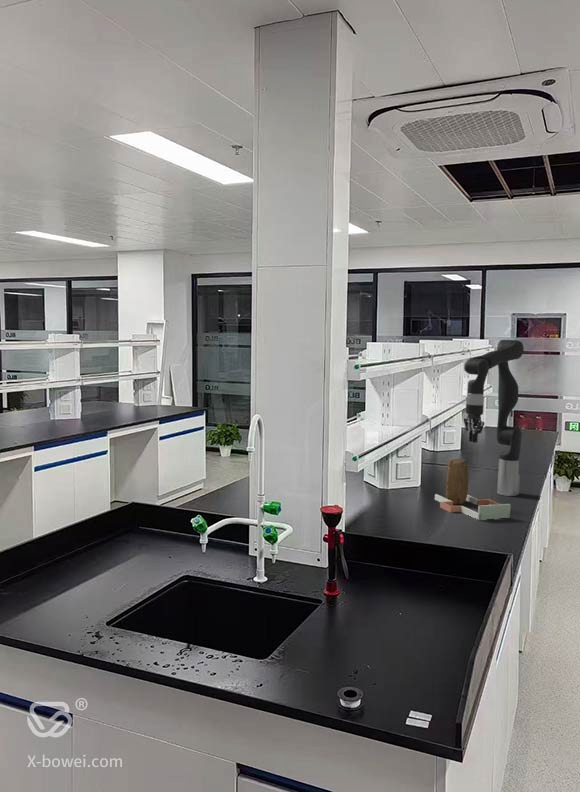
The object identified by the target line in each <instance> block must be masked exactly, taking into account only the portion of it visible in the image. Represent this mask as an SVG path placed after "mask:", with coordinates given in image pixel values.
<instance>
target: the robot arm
mask: <svg viewBox="0 0 580 792" xmlns="http://www.w3.org/2000/svg"><path fill="white" fill-rule="evenodd" d="M524 349H525V348H524V344H523V342H522V341H520V340H518V339H501V340H499V342H498V343H497V348H496V350H492V351H489V352H487V353H484V354H482V355H478V356H474V357H470V358H468V359H467V360H466V361H465V362H464V364H463V365H464V371H465V373H467V374H468V375H475V376H476V378H475V379H471V380H468V382H467V392H466V399H465V400H466V401H465V414H466V415H467V417H466V418H463V423H464V426H465V432H467V433H468V442H470V443H471V442H472V443H475V444H476V443H477V442H478V440H479V439H478V437H479V436H478V435H479V434H482V431H483V428H484V427H485V421H482V415H484V401H485V398H484V397H485V396H484V393H485V392H484V391H485V390H484V389H485V382H486V379H487V376H488V374H489V370H492V368H494V367H496V366H497V369H498V387H497V390H498V391H497V397H498V399H497V401H498V405H497V406H498V412H497V413H498V414H497V427H496V441H497V443H498V444H500V445H502V446H503V445H504V446H509V450H507V451H501V452H499V455H498V469H497V471H498V475H497V492H496V493H497V494H498V495H500V496H506V497H514V496H518V495H519V494H520V482H521V481H520V480H521V479H520V477H521V476H520V475H519V465H520V463H519V461H520V455H521V446H522V438H523V437H522V436H523V435H522V430H521V428H520V427H516V426H510V425H509V426H508V419H509V416H510V414H511V412H512V411H513V409H514V408H515V407H516V405H517V403H518V401H519V385H518V382H517V380H516V379H515V377H514V375H513V374H512V371H511V370H510V367H509V362H510V361H515V360H518V359H520V358H521V357H522V356H523V355H524Z"/></svg>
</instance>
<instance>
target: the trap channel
mask: <svg viewBox="0 0 580 792" xmlns="http://www.w3.org/2000/svg"><path fill="white" fill-rule="evenodd" d="M434 500H435V501H437V502H439V508H440V509H443V510H445V511H446V512H448V513H463V514H464V515H466V516H468V515H469V517H470V516H471V518H473V519H475V518H476V519H475V520H477V519H478V520H477V521H488V520H487V519H494V520H500V519H499V518H511V508H512V507H511V503H499V502H496V501H494V500H492V499H490V498H488V499H487V498H485V499H478V498H476V497H474V496H471V495H469V494H467V498H466V501H467V502H469V503H471V504H473V505H475V506H477V511H475V510H472V509H471V508H468V507H466V506H463V505H454V504H453V501H451V500H448V499H446V497H444V496H442V495H439V494H437V493H435V494H434ZM466 501H465V502H466Z"/></svg>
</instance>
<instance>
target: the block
mask: <svg viewBox="0 0 580 792" xmlns="http://www.w3.org/2000/svg"><path fill="white" fill-rule="evenodd" d="M446 474H447V475H446V491H445V498H446V499H448V500H451V501H453V505H463V504H465V503H466V498H467V495H468V491H469V468H468V460H467V459H463V458H454V459H451V460H449V461H448V467H447V473H446Z"/></svg>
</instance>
